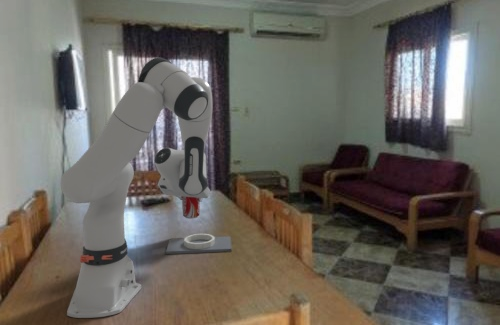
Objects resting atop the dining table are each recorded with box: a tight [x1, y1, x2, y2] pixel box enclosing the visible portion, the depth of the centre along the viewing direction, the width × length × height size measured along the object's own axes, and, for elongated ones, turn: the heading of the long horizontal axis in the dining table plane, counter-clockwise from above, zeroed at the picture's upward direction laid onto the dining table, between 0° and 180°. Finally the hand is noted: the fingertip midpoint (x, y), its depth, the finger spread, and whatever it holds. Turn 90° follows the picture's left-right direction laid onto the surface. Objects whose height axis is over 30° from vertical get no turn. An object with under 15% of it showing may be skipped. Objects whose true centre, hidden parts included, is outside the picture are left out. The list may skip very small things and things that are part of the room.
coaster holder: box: [165, 233, 232, 255], centre depth 150 cm, size 14×24×3 cm, turn 94°
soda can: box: [181, 196, 201, 220], centre depth 161 cm, size 7×7×12 cm
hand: (191, 199), depth 161 cm, fingers closed on soda can, 7 cm apart
